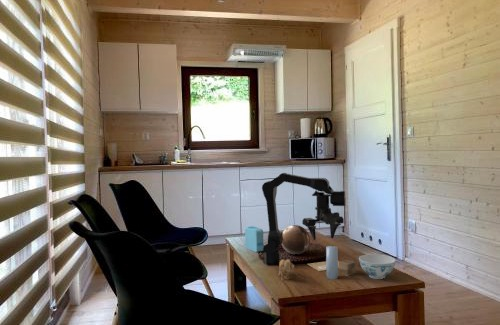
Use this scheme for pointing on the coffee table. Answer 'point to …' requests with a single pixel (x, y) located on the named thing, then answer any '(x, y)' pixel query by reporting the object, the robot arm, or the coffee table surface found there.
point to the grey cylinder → (332, 262)
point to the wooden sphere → (295, 239)
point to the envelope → (320, 266)
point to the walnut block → (347, 267)
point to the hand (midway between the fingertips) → (323, 239)
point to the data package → (254, 239)
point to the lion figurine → (285, 268)
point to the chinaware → (377, 265)
